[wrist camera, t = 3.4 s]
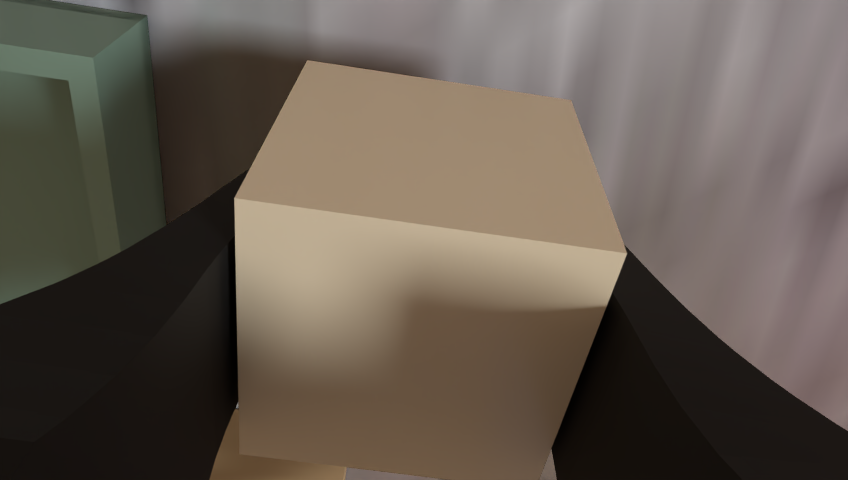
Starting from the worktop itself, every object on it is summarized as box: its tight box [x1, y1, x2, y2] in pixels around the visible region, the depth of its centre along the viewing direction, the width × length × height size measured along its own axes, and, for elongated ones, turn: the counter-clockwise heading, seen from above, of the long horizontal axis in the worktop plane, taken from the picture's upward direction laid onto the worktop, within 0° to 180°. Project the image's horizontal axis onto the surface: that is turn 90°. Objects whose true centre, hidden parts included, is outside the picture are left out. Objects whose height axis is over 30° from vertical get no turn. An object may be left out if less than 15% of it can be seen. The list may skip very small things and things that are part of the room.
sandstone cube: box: [234, 60, 627, 480], centre depth 11 cm, size 4×4×4 cm
